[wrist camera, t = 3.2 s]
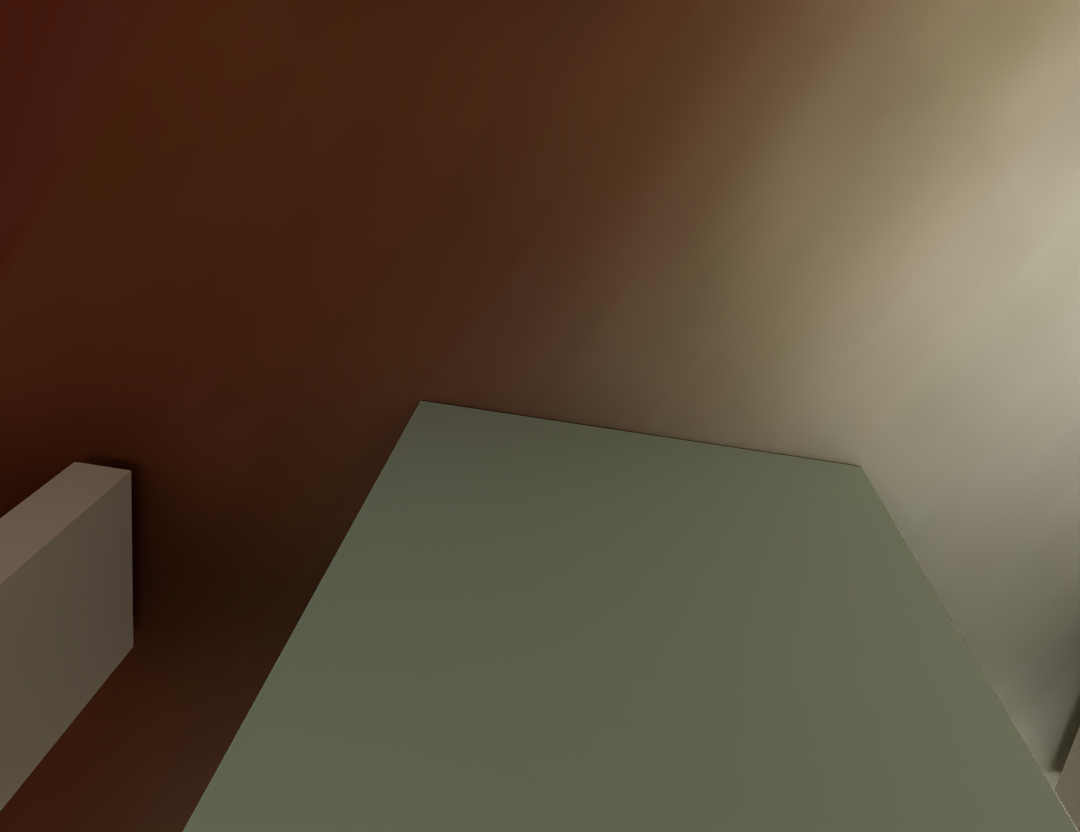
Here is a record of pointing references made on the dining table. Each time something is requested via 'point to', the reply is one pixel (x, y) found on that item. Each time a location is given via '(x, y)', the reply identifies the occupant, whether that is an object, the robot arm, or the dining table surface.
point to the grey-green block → (622, 654)
